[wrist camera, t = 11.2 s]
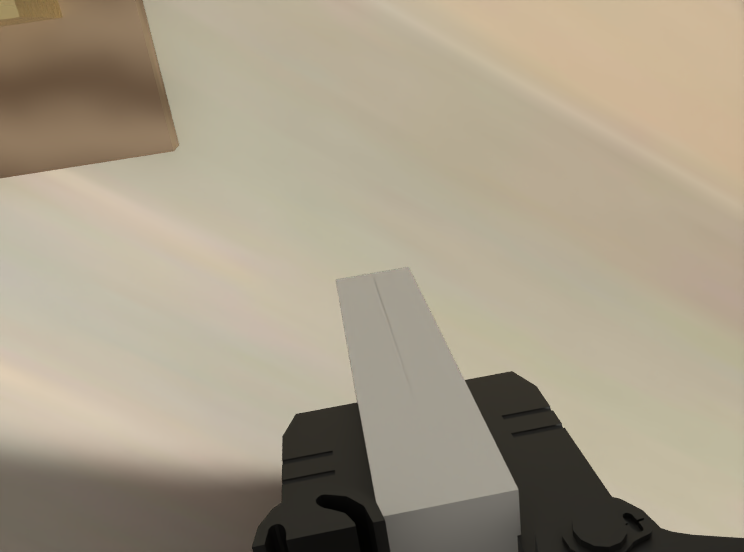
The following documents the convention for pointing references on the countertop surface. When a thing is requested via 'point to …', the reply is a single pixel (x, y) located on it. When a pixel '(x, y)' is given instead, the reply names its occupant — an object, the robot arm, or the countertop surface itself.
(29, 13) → the valve pipe
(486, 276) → the countertop surface
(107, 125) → the mounting board
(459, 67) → the countertop surface
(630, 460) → the countertop surface
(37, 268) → the countertop surface
